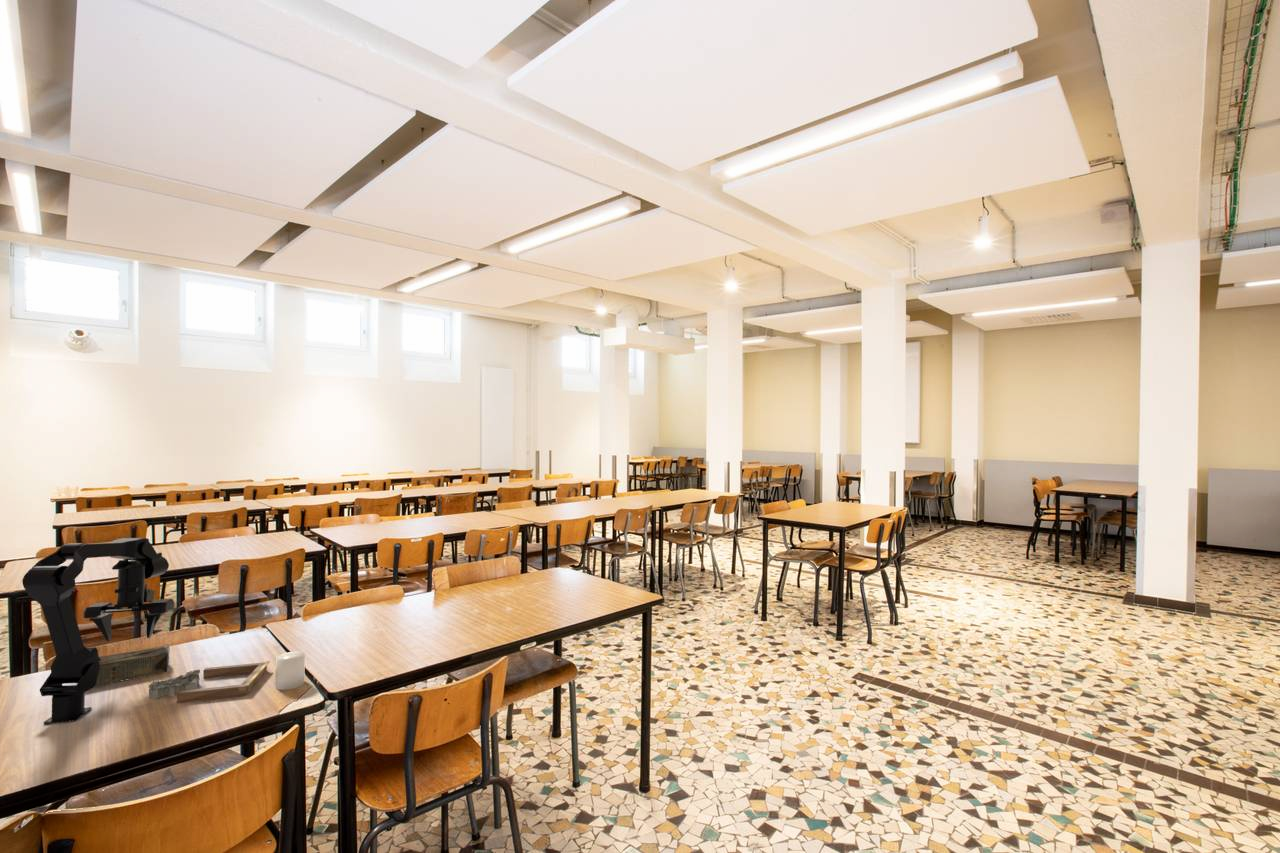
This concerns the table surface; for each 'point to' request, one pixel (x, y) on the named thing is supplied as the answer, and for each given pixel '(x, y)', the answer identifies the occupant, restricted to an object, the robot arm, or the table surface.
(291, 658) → the off-white rounded cube
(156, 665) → the grey-green printed box
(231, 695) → the frame
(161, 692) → the egg carton
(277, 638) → the table surface
